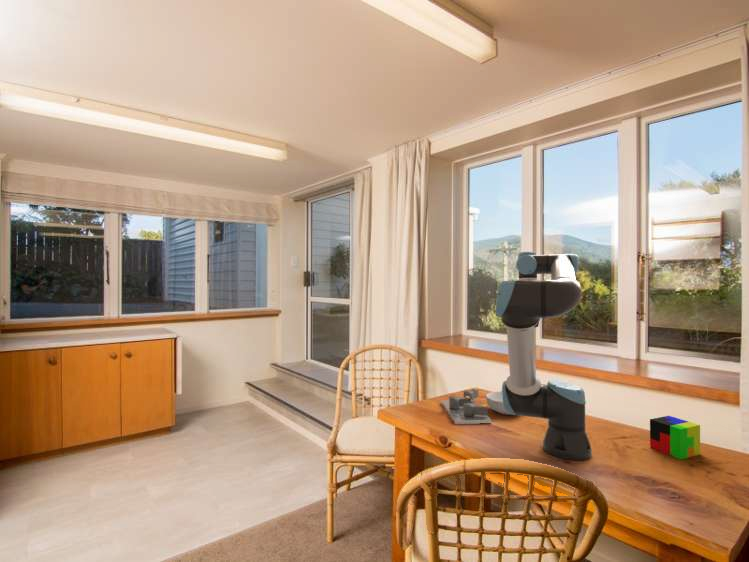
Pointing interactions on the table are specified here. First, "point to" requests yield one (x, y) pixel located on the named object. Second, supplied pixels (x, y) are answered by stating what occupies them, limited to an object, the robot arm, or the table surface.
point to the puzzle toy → (675, 436)
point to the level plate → (459, 415)
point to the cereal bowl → (496, 402)
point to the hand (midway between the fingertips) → (528, 343)
